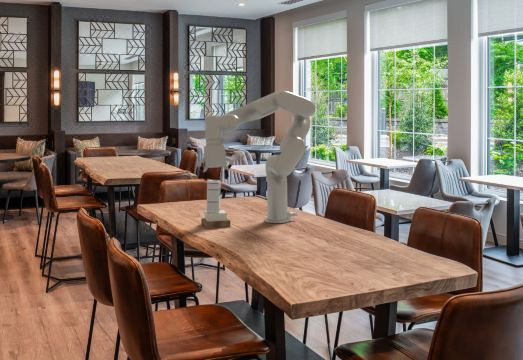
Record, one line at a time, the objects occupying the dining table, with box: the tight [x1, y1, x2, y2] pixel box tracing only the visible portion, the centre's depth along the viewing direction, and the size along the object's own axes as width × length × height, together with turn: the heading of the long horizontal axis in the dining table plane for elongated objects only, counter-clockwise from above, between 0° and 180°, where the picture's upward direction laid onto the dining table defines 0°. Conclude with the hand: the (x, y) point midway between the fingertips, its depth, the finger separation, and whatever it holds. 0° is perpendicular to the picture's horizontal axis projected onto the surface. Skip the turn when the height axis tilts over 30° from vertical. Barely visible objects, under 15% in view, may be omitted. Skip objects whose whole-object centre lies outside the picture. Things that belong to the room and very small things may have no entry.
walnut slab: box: [200, 217, 231, 229], centre depth 291 cm, size 11×11×4 cm
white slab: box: [203, 209, 228, 222], centre depth 291 cm, size 9×9×4 cm
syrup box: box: [206, 179, 222, 213], centre depth 289 cm, size 6×6×14 cm
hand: (215, 179), depth 289 cm, fingers open, 9 cm apart
